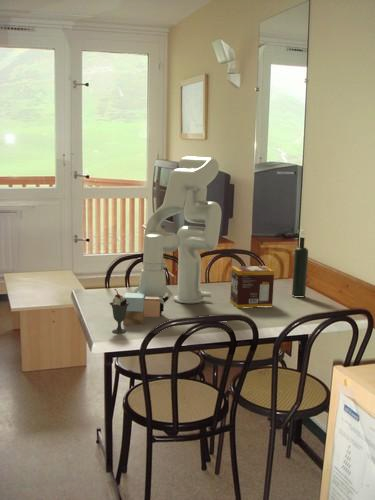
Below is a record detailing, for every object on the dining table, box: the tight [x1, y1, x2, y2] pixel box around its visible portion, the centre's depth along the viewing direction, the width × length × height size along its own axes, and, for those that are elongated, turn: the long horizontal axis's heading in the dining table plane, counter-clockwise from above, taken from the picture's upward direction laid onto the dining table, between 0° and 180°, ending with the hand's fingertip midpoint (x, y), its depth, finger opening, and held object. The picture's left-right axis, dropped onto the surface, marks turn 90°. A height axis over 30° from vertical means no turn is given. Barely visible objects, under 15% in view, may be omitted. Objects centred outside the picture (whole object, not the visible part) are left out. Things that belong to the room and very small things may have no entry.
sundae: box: [109, 288, 129, 335], centre depth 206 cm, size 7×7×15 cm
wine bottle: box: [291, 229, 309, 297], centre depth 264 cm, size 6×6×30 cm
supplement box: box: [229, 265, 275, 309], centre depth 248 cm, size 10×15×16 cm
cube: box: [144, 296, 161, 318], centre depth 229 cm, size 6×6×6 cm
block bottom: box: [122, 309, 145, 326], centre depth 219 cm, size 7×7×5 cm
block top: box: [123, 292, 144, 312], centre depth 218 cm, size 7×7×5 cm
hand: (152, 312), depth 229 cm, fingers closed on cube, 6 cm apart
